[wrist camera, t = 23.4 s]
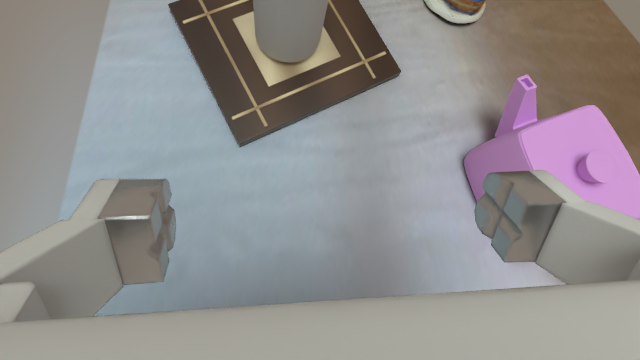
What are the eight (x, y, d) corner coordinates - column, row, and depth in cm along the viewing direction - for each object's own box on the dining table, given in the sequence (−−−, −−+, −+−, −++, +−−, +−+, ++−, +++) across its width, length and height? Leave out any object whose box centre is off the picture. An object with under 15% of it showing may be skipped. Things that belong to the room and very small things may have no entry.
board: (239, 147, 37) (238, 143, 36) (170, 10, 39) (167, 3, 38) (398, 76, 41) (401, 70, 40) (326, -45, 43) (327, -53, 42)
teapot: (436, 125, 40) (491, 76, 30) (520, 96, 42) (597, 41, 32) (516, 295, 37) (606, 303, 27) (602, 254, 39) (716, 247, 29)
